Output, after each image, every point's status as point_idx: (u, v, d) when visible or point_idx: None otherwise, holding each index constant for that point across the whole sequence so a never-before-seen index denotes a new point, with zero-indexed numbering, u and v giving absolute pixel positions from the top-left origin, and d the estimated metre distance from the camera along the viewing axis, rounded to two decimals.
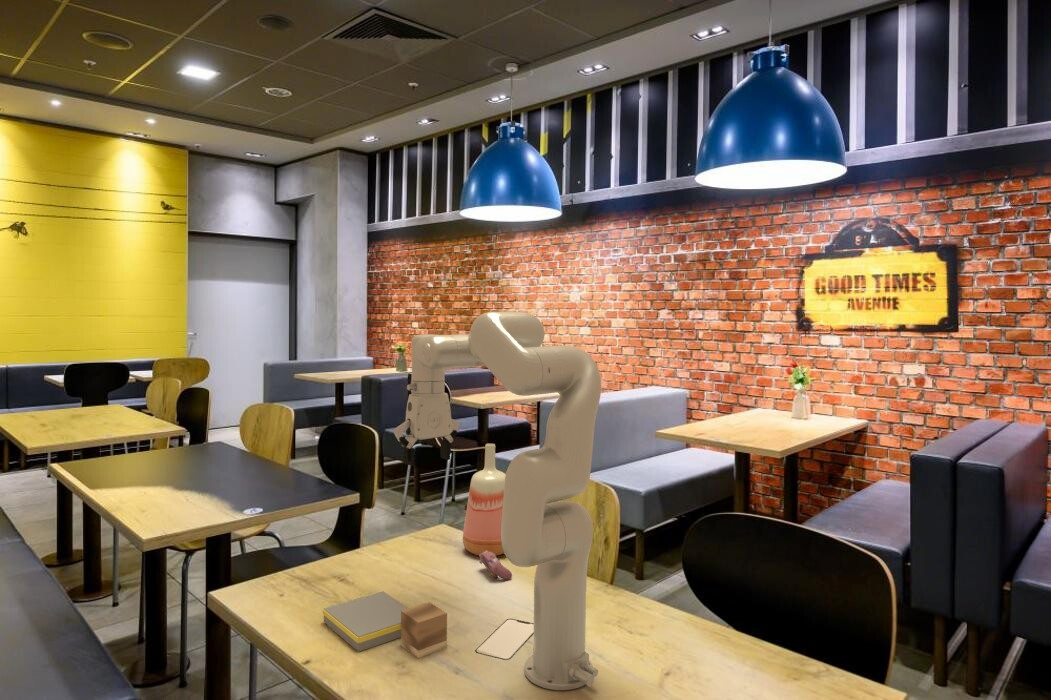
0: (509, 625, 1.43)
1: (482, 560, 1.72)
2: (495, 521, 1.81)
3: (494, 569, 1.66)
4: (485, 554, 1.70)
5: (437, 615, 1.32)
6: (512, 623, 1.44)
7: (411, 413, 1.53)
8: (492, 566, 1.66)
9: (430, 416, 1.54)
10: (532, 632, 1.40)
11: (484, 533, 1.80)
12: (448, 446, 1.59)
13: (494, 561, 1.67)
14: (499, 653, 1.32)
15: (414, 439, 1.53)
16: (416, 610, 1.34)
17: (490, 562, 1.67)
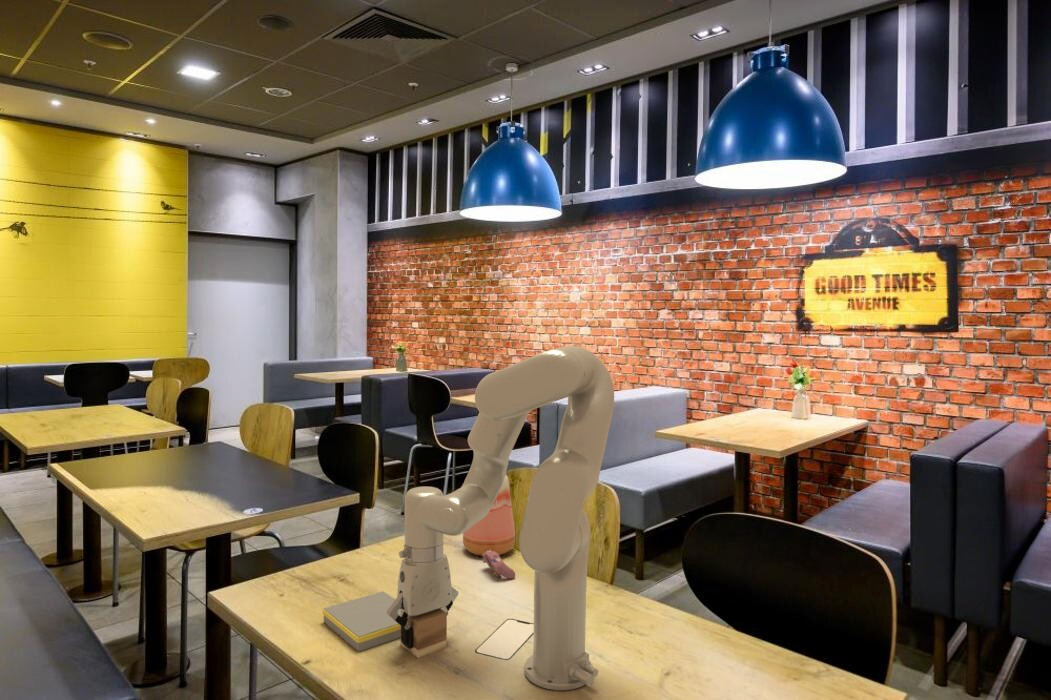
0: (509, 625, 1.43)
1: (485, 559, 1.72)
2: (495, 521, 1.81)
3: (497, 568, 1.66)
4: (488, 553, 1.70)
5: (437, 615, 1.32)
6: (512, 623, 1.44)
7: (404, 585, 1.29)
8: (495, 565, 1.66)
9: (426, 587, 1.31)
10: (532, 632, 1.40)
11: (484, 533, 1.80)
12: None
13: (497, 560, 1.67)
14: (498, 653, 1.32)
15: (411, 617, 1.31)
16: None
17: (493, 561, 1.67)
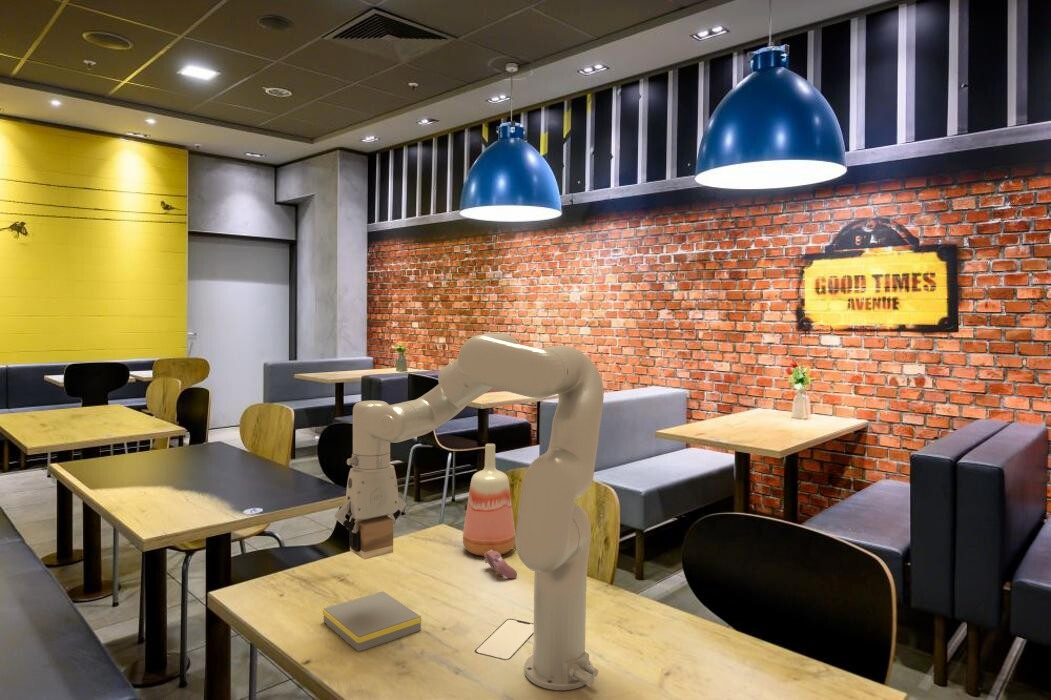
0: (509, 625, 1.43)
1: (487, 559, 1.72)
2: (495, 521, 1.81)
3: (499, 568, 1.66)
4: (490, 553, 1.70)
5: (383, 520, 1.40)
6: (512, 623, 1.44)
7: (351, 491, 1.37)
8: (497, 565, 1.66)
9: (373, 493, 1.38)
10: (532, 632, 1.40)
11: (484, 533, 1.80)
12: None
13: (499, 560, 1.67)
14: (498, 653, 1.32)
15: (359, 521, 1.38)
16: None
17: (495, 561, 1.67)
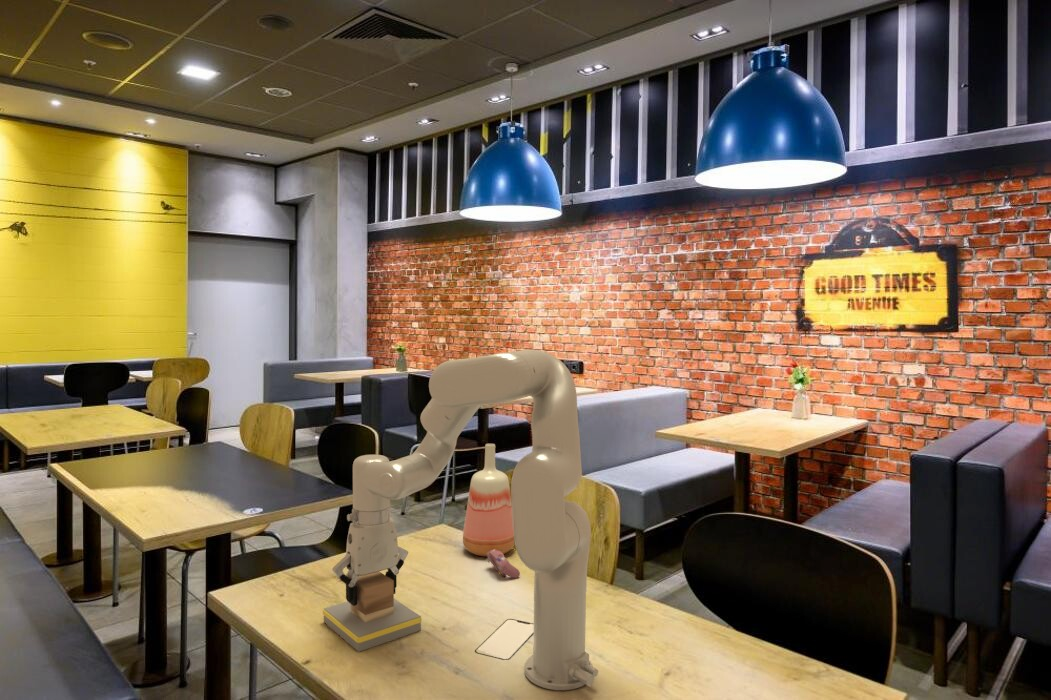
0: (509, 625, 1.43)
1: (490, 559, 1.73)
2: (495, 521, 1.81)
3: (502, 568, 1.67)
4: (493, 553, 1.71)
5: (384, 582, 1.40)
6: (512, 623, 1.44)
7: (351, 547, 1.37)
8: (500, 565, 1.67)
9: (373, 549, 1.39)
10: (532, 632, 1.40)
11: (484, 533, 1.80)
12: (393, 579, 1.43)
13: (502, 560, 1.68)
14: (498, 653, 1.32)
15: (356, 576, 1.38)
16: (365, 578, 1.42)
17: (498, 561, 1.68)
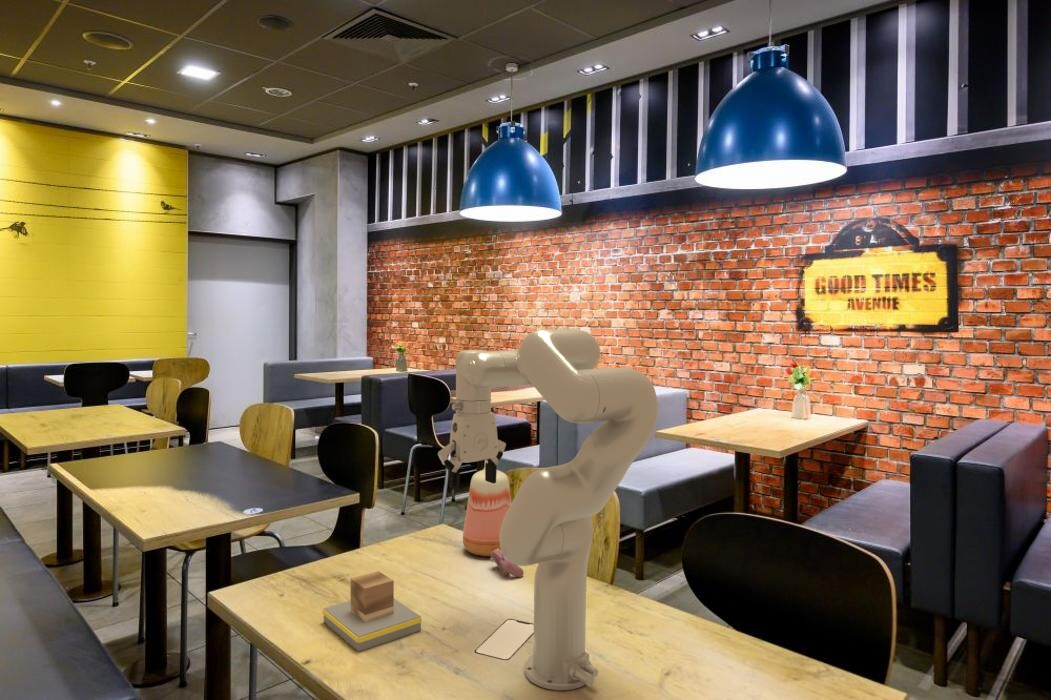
0: (509, 625, 1.43)
1: (493, 558, 1.73)
2: (495, 521, 1.81)
3: (506, 567, 1.67)
4: (497, 552, 1.71)
5: (384, 582, 1.40)
6: (512, 623, 1.44)
7: (456, 434, 1.43)
8: (504, 564, 1.67)
9: (476, 437, 1.44)
10: (532, 632, 1.40)
11: (484, 533, 1.80)
12: (494, 469, 1.49)
13: (506, 559, 1.68)
14: (498, 653, 1.32)
15: (460, 462, 1.43)
16: (365, 578, 1.42)
17: (502, 560, 1.68)
